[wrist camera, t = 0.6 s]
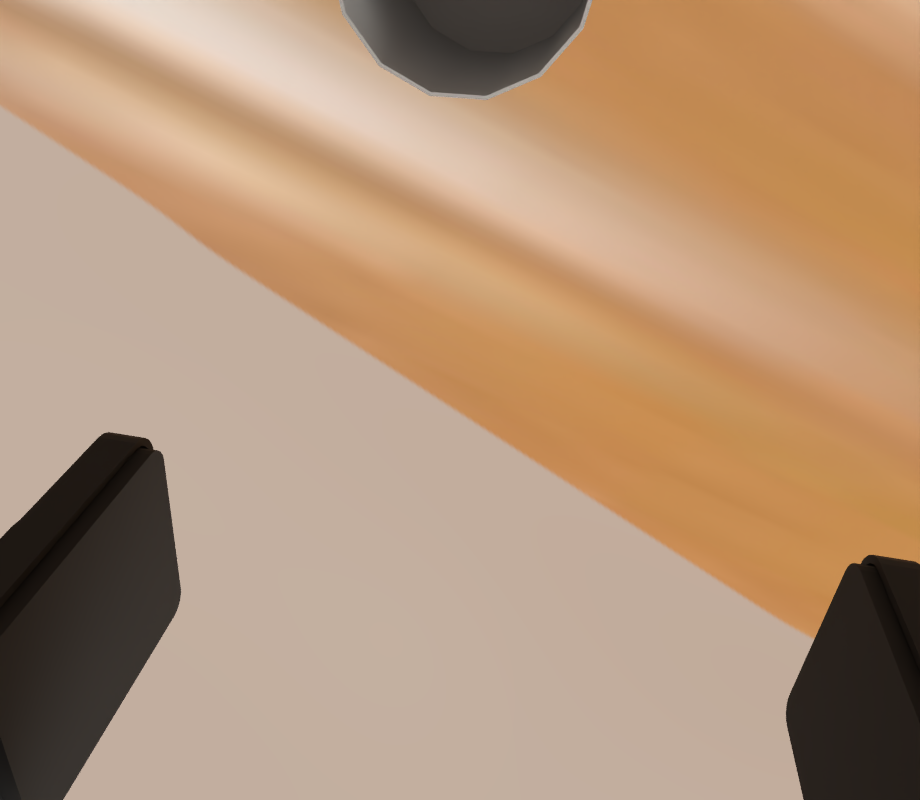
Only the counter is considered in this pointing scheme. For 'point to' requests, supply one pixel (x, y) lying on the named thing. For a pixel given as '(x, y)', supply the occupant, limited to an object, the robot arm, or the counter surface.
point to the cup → (466, 41)
